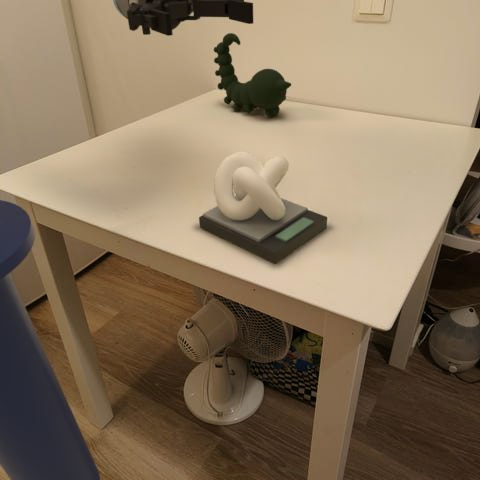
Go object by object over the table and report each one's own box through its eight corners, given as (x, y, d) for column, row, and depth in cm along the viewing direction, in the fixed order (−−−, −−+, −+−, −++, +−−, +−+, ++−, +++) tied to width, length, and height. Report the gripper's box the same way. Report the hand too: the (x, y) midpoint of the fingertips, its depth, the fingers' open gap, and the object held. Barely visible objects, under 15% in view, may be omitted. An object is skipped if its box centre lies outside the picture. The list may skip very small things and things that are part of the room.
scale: (199, 227, 74) (198, 213, 72) (252, 198, 81) (252, 185, 80) (275, 264, 65) (275, 249, 64) (326, 227, 72) (327, 213, 71)
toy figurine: (212, 113, 124) (279, 125, 108) (202, 36, 114) (274, 36, 98) (237, 105, 129) (304, 115, 113) (229, 30, 119) (302, 29, 103)
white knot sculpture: (250, 188, 79) (249, 137, 73) (309, 207, 73) (312, 153, 67) (207, 214, 72) (202, 161, 67) (267, 238, 66) (267, 181, 60)
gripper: (220, 20, 88) (281, 36, 73) (94, 38, 79) (135, 59, 64) (217, -26, 83) (282, -20, 69) (83, -14, 74) (125, -3, 59)
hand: (211, 18), depth 66 cm, fingers open, 13 cm apart
